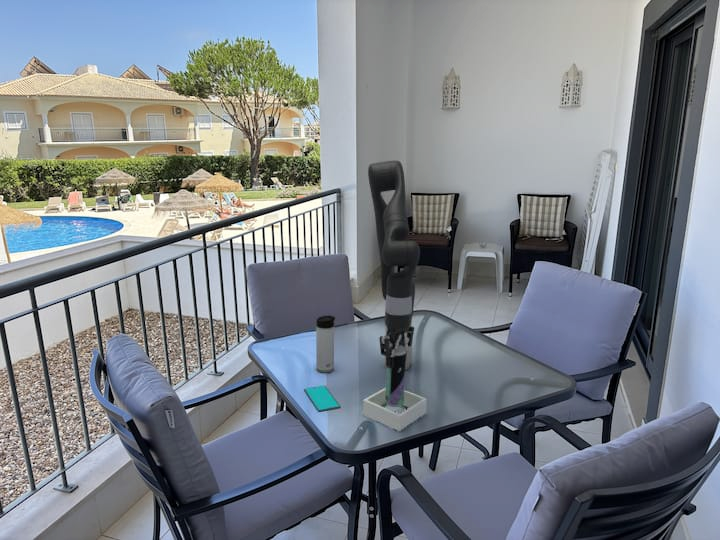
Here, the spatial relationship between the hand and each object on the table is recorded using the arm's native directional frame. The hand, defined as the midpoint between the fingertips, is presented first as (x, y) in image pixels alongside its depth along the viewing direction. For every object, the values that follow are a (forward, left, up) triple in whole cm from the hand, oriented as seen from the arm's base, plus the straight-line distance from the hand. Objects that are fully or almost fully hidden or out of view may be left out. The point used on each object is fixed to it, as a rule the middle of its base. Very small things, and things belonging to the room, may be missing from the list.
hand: (396, 364), depth 148 cm
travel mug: (-8, -37, -17) cm, 41 cm away
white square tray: (0, 0, -16) cm, 16 cm away
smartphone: (+8, -23, -17) cm, 29 cm away
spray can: (0, 0, -13) cm, 13 cm away
